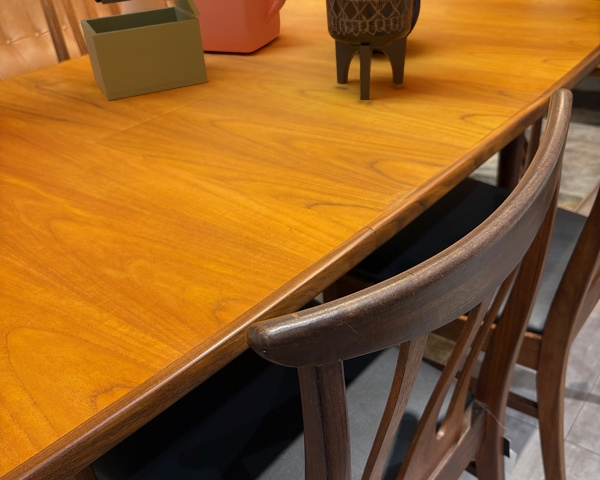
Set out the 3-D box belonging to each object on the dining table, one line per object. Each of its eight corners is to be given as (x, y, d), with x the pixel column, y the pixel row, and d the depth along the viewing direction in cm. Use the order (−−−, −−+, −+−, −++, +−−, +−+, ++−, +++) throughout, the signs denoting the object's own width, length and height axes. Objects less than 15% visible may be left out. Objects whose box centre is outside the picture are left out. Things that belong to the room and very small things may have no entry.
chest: (108, 100, 97) (92, 35, 91) (95, 80, 107) (79, 20, 101) (207, 81, 102) (198, 18, 96) (187, 64, 112) (177, 5, 106)
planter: (309, 92, 95) (303, -37, 84) (359, 70, 103) (359, -51, 92) (378, 107, 88) (381, -32, 77) (426, 82, 95) (435, -47, 85)
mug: (133, 43, 126) (119, -22, 119) (174, 39, 127) (163, -26, 120) (128, 58, 117) (113, -11, 110) (173, 54, 118) (161, -15, 110)
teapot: (274, 57, 111) (268, -28, 103) (171, 52, 119) (157, -28, 110) (313, 31, 126) (310, -46, 118) (219, 27, 133) (210, -45, 125)
